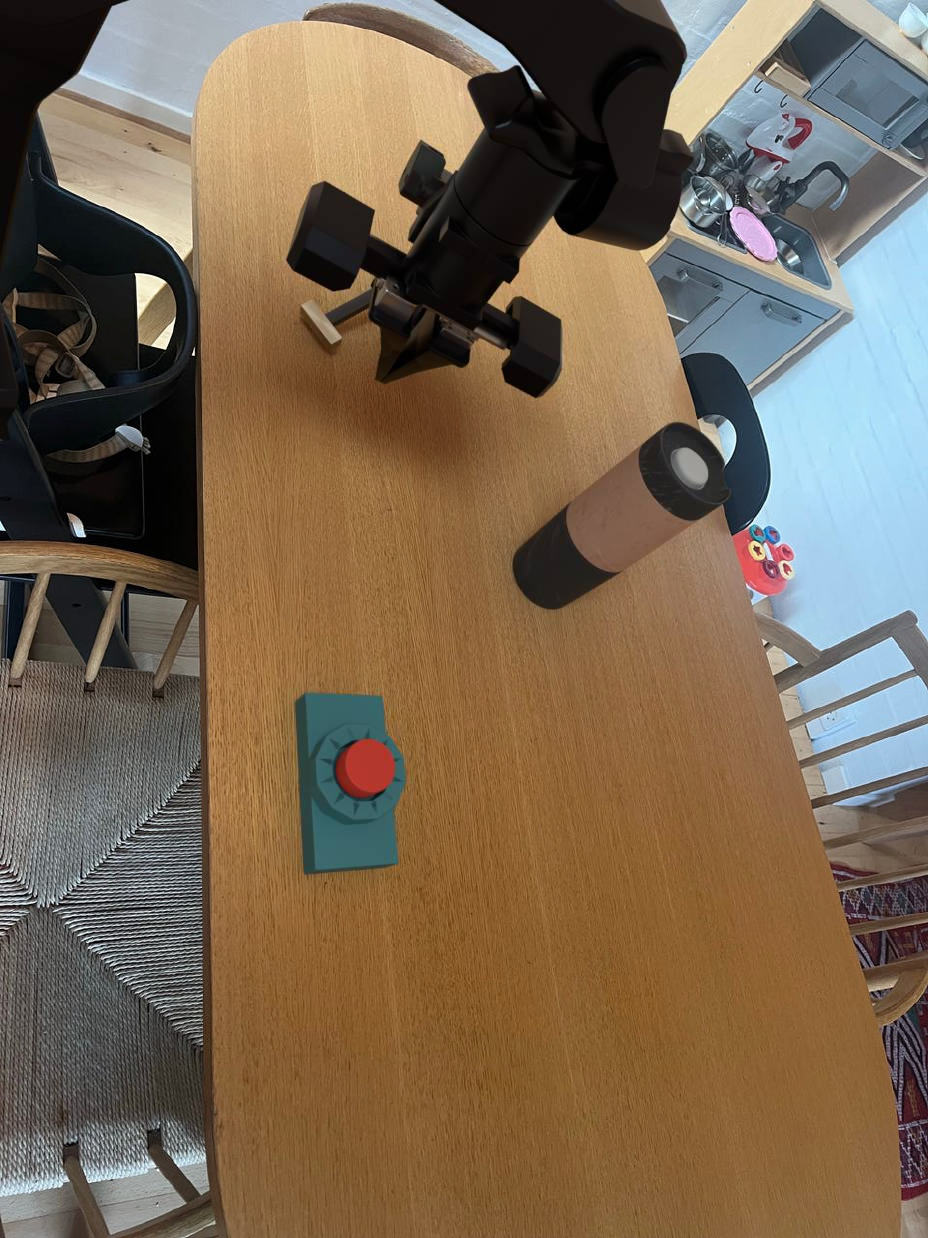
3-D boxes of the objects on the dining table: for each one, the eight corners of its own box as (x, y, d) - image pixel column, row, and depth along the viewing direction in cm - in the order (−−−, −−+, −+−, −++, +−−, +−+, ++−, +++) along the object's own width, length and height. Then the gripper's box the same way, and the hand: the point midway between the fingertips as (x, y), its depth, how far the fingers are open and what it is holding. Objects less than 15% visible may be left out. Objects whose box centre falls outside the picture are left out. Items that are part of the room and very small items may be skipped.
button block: (291, 701, 56) (311, 683, 52) (373, 704, 59) (396, 687, 56) (299, 875, 51) (322, 866, 48) (388, 867, 54) (414, 859, 51)
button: (333, 745, 52) (343, 738, 51) (381, 745, 54) (392, 738, 52) (337, 799, 50) (347, 793, 49) (386, 797, 52) (398, 791, 51)
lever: (328, 355, 71) (331, 341, 68) (298, 316, 71) (300, 300, 68) (473, 272, 77) (481, 257, 75) (446, 237, 77) (452, 220, 75)
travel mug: (495, 563, 71) (644, 440, 56) (538, 528, 76) (686, 406, 61) (547, 627, 72) (709, 522, 56) (587, 588, 76) (746, 481, 61)
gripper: (618, 208, 52) (493, 358, 64) (368, 36, 44) (279, 243, 56) (622, 318, 47) (485, 460, 59) (338, 144, 39) (246, 348, 51)
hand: (380, 377), depth 56 cm, fingers closed
